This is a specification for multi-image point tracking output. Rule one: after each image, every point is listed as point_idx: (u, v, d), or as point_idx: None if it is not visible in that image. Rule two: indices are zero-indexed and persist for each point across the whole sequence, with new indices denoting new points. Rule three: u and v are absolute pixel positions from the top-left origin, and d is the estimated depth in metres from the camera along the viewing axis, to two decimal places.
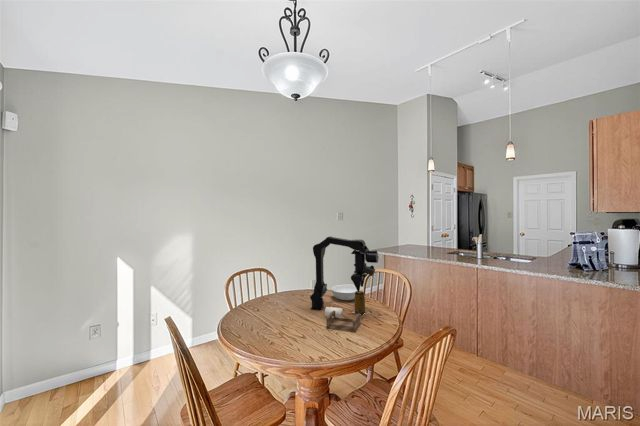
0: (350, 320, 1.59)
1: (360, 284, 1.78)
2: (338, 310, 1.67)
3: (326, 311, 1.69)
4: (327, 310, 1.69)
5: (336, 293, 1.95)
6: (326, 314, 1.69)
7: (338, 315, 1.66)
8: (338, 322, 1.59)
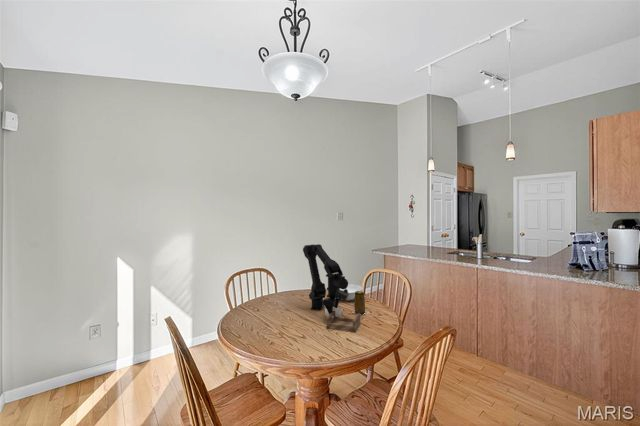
0: (350, 320, 1.59)
1: None
2: (338, 310, 1.67)
3: (326, 311, 1.69)
4: None
5: None
6: (326, 314, 1.69)
7: (338, 315, 1.66)
8: (338, 322, 1.59)
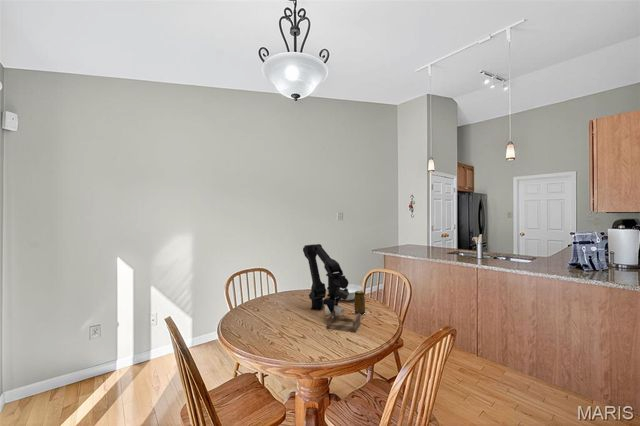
0: (350, 320, 1.59)
1: None
2: (338, 309, 1.66)
3: (326, 310, 1.68)
4: (327, 309, 1.68)
5: None
6: (326, 313, 1.69)
7: (338, 314, 1.66)
8: (338, 322, 1.59)
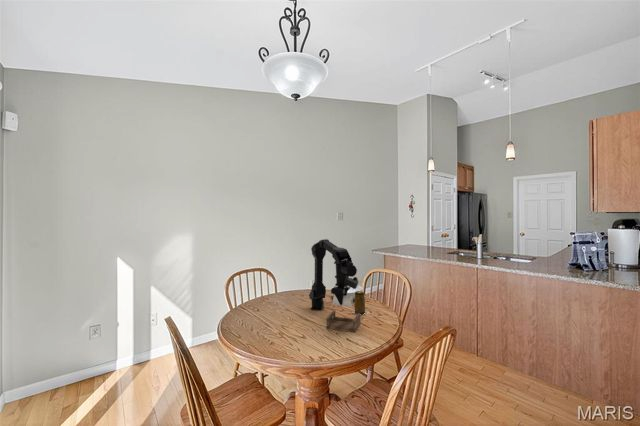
0: (350, 320, 1.59)
1: None
2: (347, 299, 1.54)
3: (334, 300, 1.56)
4: (335, 299, 1.56)
5: None
6: (335, 303, 1.56)
7: (348, 304, 1.53)
8: (338, 322, 1.59)
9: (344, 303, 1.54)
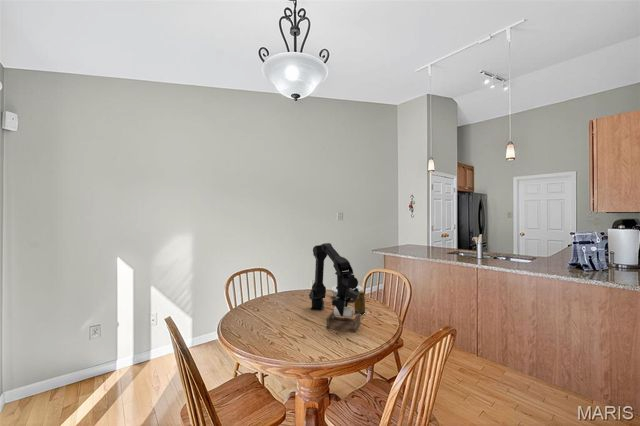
0: (350, 320, 1.59)
1: None
2: (348, 310, 1.53)
3: (335, 311, 1.55)
4: (336, 310, 1.55)
5: (336, 293, 1.95)
6: (335, 314, 1.55)
7: (348, 316, 1.53)
8: (338, 322, 1.59)
9: (345, 314, 1.53)
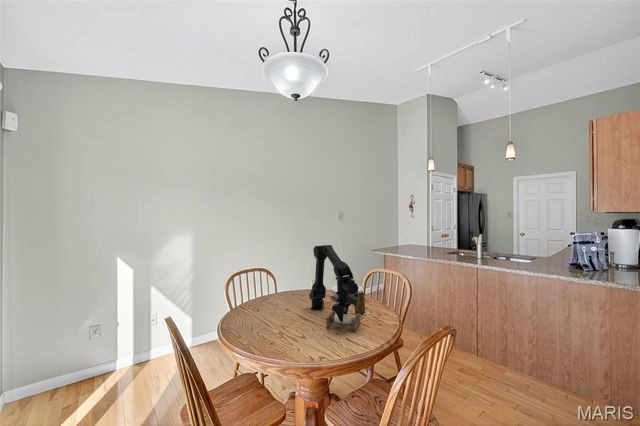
0: None
1: (343, 314, 1.60)
2: (348, 318, 1.53)
3: (335, 319, 1.55)
4: (336, 318, 1.55)
5: None
6: (336, 322, 1.55)
7: (349, 323, 1.53)
8: None
9: (345, 322, 1.53)
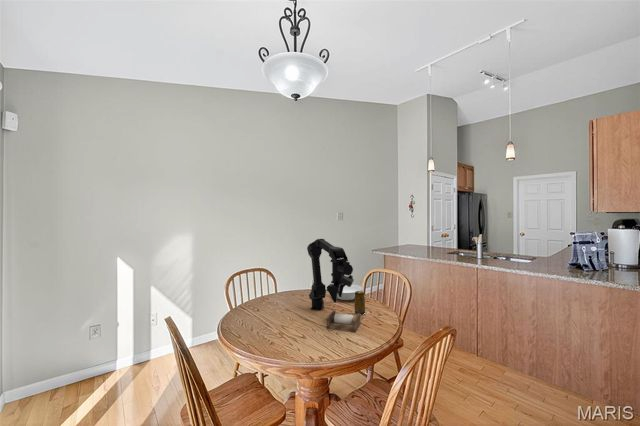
0: None
1: None
2: (348, 318, 1.53)
3: (335, 319, 1.55)
4: (336, 318, 1.55)
5: None
6: (336, 322, 1.55)
7: (349, 323, 1.53)
8: None
9: (345, 322, 1.53)
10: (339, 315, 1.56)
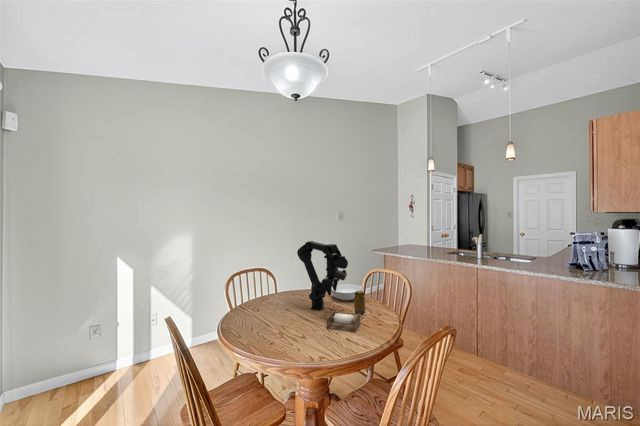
0: None
1: (333, 288, 1.78)
2: (348, 318, 1.53)
3: (335, 319, 1.55)
4: (336, 318, 1.55)
5: (336, 293, 1.95)
6: (336, 322, 1.55)
7: (349, 323, 1.53)
8: None
9: (345, 322, 1.53)
10: (339, 315, 1.56)
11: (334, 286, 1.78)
